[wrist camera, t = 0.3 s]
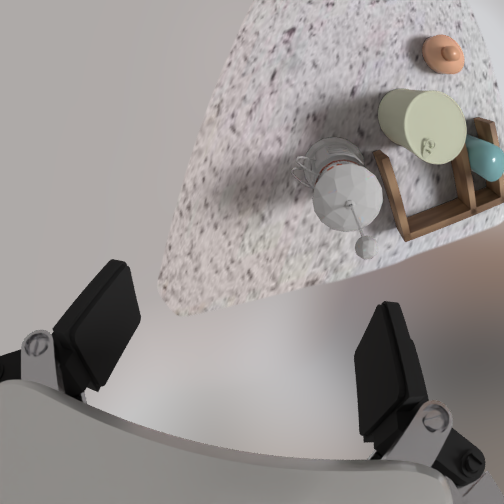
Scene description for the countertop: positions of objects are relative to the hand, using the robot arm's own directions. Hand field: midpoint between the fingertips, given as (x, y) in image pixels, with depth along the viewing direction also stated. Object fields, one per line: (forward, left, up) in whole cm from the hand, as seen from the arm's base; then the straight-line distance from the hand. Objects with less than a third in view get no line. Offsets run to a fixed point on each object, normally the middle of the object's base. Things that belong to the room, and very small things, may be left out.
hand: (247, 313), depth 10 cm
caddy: (+14, +22, -36) cm, 45 cm away
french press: (+6, +4, -36) cm, 37 cm away
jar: (+12, +29, -36) cm, 48 cm away
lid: (-5, +29, -36) cm, 47 cm away
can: (+3, +19, -36) cm, 41 cm away
